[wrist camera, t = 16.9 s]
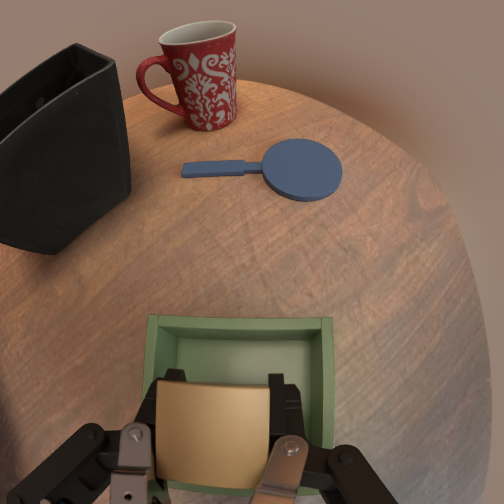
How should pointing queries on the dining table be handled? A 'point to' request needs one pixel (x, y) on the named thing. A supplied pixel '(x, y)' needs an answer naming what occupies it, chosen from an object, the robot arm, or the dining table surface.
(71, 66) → the flower pot
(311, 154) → the blue ping pong paddle
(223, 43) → the mug
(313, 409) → the green storage bin
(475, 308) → the dining table surface
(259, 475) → the wooden block
